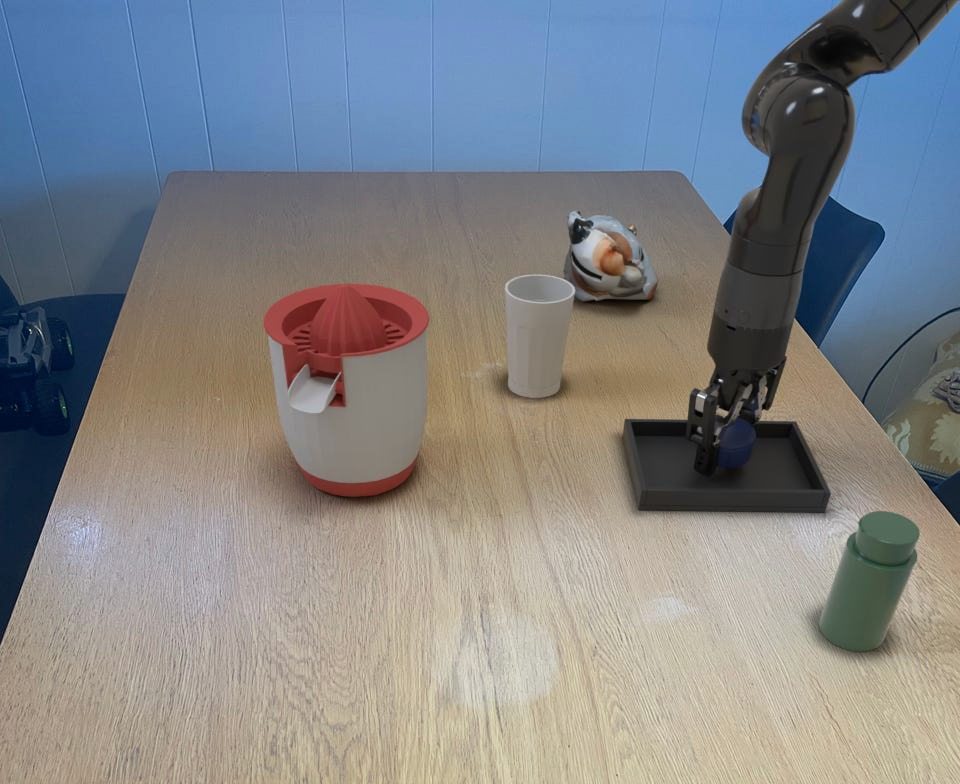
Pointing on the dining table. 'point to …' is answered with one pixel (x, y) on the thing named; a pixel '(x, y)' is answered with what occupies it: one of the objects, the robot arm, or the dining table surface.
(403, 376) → the citrus juicer
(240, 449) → the dining table surface
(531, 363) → the cup
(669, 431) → the tray
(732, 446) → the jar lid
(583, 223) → the lucky cat figurine
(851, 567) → the jar
